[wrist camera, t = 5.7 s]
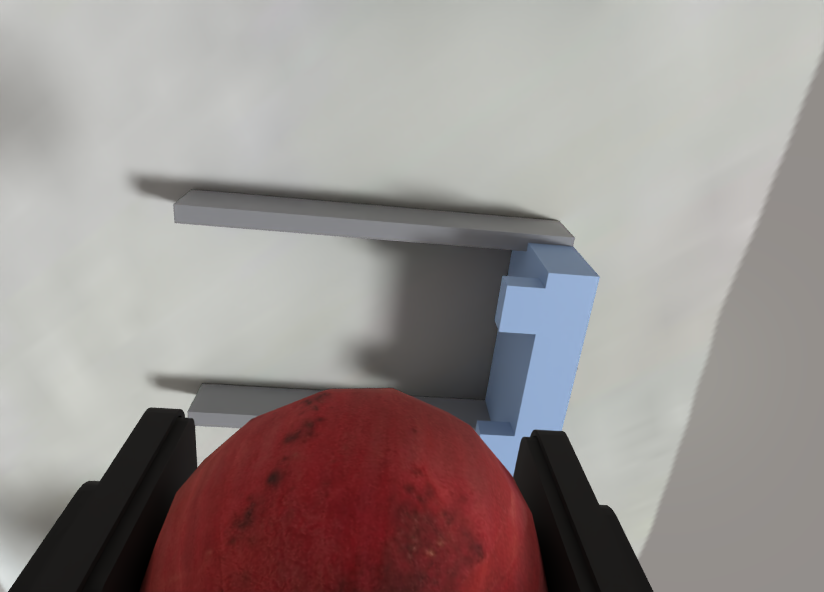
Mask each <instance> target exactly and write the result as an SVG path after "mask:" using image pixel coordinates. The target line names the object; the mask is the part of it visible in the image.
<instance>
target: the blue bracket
mask: <svg viewBox="0 0 824 592" xmlns="http://www.w3.org/2000/svg"><path fill="white" fill-rule="evenodd" d="M599 278H600V277H599V276H598V274H597V273H596V272H595V271H594V270H593V269H592V268H591V266H590V265H589V264H588V263H587V262H586V261H585V260H584V258H583V257H582V256H581V255H580V254H579V253H578V252H577V250H576V249H575V248H574V247H573V246H562V245H550V244H537V243H528V247H527V251H515V250H512V253H511V259H510V264H509V270H508V276H502V281H501V287H500V292H499V298H498V304H497V310H496V315H495V323H496V326H497V328H498V332H497V337H496V343H495V348H494V354H493V360H492V365H491V371H490V376H489V382H488V388H487V393H486V399H485V401H486V405H487V409H488V412H489V416H490V420H491V421H479V420H477V424H476V430H475V432H476V433H477V434H478V435H479V436H480V438H481V439H482V440H483V441H484V442H485V444H486V445H487V446H488V447H489V448H490V450H491V451H492V452H493V453H494V454H495V456H496V457H497V458H498V459H499V460H500V462H501V463H502V464H503V465H504V466H505V468H506V469H507V470H508V471H509V472H510V474H511V475H512V476H513V475H514V470H515V465H516V460H517V456H518V451H519V446H520V442H521V439H522V437H530V435H531V433H532V431H533V430H553V431H562V427H563V423H564V419H565V415H566V411H567V407H568V403H569V399H570V395H571V391H572V387H573V383H574V379H575V375H576V370H577V366H578V362H579V358H580V354H581V350H582V346H583V342H584V338H585V334H586V330H587V326H588V322H589V318H590V314H591V310H592V306H593V302H594V298H595V294H596V290H597V286H598V282H599Z"/></svg>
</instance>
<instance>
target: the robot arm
mask: <svg viewBox="0 0 824 592" xmlns="http://www.w3.org/2000/svg"><path fill="white" fill-rule="evenodd" d="M196 469H197V454H196V436H195V422H194V419H193V418H185V414H184V412H183V410H181V409H168V408H148V409H147V410H146V411H145V413H144V414H143V416H142V417H141V419H140V420H139V422H138V423H137V425H136V427H135V428H134V430H133V431H132V433H131V434H130V436H129V437H128V439H127V440H126V442H125V443H124V445H123V447H122V448H121V450H120V451H119V453H118V454H117V456H116V457H115V459H114V460H113V462H112V463H111V465H110V466H109V468H108V470H107V471H106V473H105V474H104V476H103V477H102V479H101V480H100V481H88V482H86V483H84V484H83V485H82V486H81V487H80V488H79V490H78V491H77V492H76V494H75V495H74V497H73V498H72V499H71V501H70V502H69V504H68V505H67V507H66V508H65V510H64V511H63V513H62V514H61V515H60V517H59V518H58V520H57V521H56V523H55V524H54V526H53V527H52V529H51V530H50V531H49V533H48V534H47V536H46V537H45V539H44V540H43V542H42V543H41V545H40V546H39V548H38V549H37V550H36V552H35V553H34V555H33V556H32V558H31V559H30V561H29V562H28V564H27V565H26V566H25V568H24V569H23V571H22V572H21V574H20V575H19V577H18V578H17V580H16V581H15V582H14V584H13V585H12V587H11V588H10V590H9V591H8V592H139V590H140V587H141V584H142V581H143V578H144V575H145V572H146V570H147V567H148V564H149V561H150V558H151V555H152V552H153V549H154V547H155V544H156V541H157V539H158V536H159V534H160V531H161V529H162V526H163V524H164V521H165V519H166V517H167V514H168V512H169V509H170V507H171V504H172V502H173V499H174V497H175V494H176V492H177V491H178V490H179V489H180V488H181V486H182V485H183V484H184V483H185V482H186V481H187V479H188V478H189V477H190V476H191V475H192V473H193V472H194V471H195V470H196ZM513 478H514V480H515V482H516V484H517V486H518V488H519V490H520V492H521V494H522V496H523V497H524V499H525V501H526V503H527V505H528V507H529V509H530V511H531V513H532V516H533V520H534V525H535V529H536V533H537V538H538V542H539V546H540V551H541V555H542V559H543V563H544V569H545V575H546V580H547V586H548V591H549V592H653V590H652V588H651V586H650V584H649V582H648V580H647V578H646V576H645V573H644V572H643V569H642V567H641V565H640V563H639V561H638V559H637V557H636V555H635V553H634V551H633V549H632V547H631V545H630V543H629V541H628V539H627V537H626V535H625V533H624V531H623V529H622V527H621V524H620V522H619V520H618V518H617V516H616V515H615V513H614V511H613V510H612V509H611V508H610V507H609V506H607V505H599V503H598V501H597V499H596V497H595V495H594V493H593V490H592V488H591V486H590V484H589V482H588V480H587V478H586V475H585V473H584V471H583V469H582V467H581V465H580V462H579V460H578V458H577V456H576V454H575V452H574V450H573V447H572V445H571V443H570V441H569V439H568V437H567V435H566V433H565V432H563V431H553V430H533V431H532V433H531V435H530V437H522V439H521V442H520V446H519V451H518V456H517V460H516V465H515V470H514V475H513Z"/></svg>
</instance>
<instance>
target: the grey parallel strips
mask: <svg viewBox="0 0 824 592" xmlns="http://www.w3.org/2000/svg"><path fill="white" fill-rule="evenodd" d="M173 206H174V221H175V223H181V224H193V225H206V226H218V227H231V228H243V229H255V230H268V231H280V232H293V233H305V234H317V235H330V236H342V237H354V238H367V239H379V240H392V241H404V242H416V243H429V244H441V245H454V246H466V247H478V248H491V249H503V250H515V251H527V247H528V243H537V244H550V245H562V246H573V244H574V240H575V237H574V236H573V235H572V234H571V233H570V232H569V231H568V230H567V229H566V228H565V226H564V225H563V224H562V223H561V222H560V221H555V220H544V219H532V218H520V217H508V216H497V215H485V214H473V213H462V212H450V211H438V210H426V209H415V208H403V207H391V206H379V205H368V204H356V203H344V202H333V201H321V200H309V199H297V198H286V197H274V196H262V195H251V194H239V193H227V192H215V191H204V190H190V191H189V192H188V193H187V194H185V195H184V196H183V197H182V198H181V199H179V200H178V201H177V202H176V203H174V204H173ZM318 392H321V390H304V389H287V388H271V387H254V386H237V385H220V384H204V383H202V385H201V387H200V389H199V391H198V393H197V395H196V396H195V398H194V400H193V402H192V404H191V406H190V408H189V410H188V418H193V419H194V422H195V426H211V427H229V428H242V427H243V426H244V425H245V424H246V423H247V422H248V421H250V420H251V419H252V418H255V417H257V416H260V415H262V414H265V413H267V412H270V411H272V410H275V409H277V408H280V407H283V406H285V405H288V404H290V403H293V402H295V401H298V400H300V399H303V398H305V397H308V396H310V395H313V394H316V393H318ZM412 397H414V398H417V399H419V400H421V401H423V402H426V403H428V404H430V405H433V406H435V407H437V408H439V409H442V410H444V411H446V412H448V413H450V414H452V415H453V416H455V417H457V418H459V419H460V420H462V421H464V422H465V423H467V424H469V425H470V426H471V427H472V428H473V429H474V430H476V424H477V420H479V421H491V420H490V416H489V412H488V409H487V405H486V401H485V400H471V399H454V398H437V397H421V396H412Z"/></svg>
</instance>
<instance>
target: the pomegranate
mask: <svg viewBox="0 0 824 592" xmlns="http://www.w3.org/2000/svg"><path fill="white" fill-rule="evenodd" d="M139 592H549V591H548V586H547V580H546V575H545V569H544V563H543V559H542V555H541V551H540V546H539V542H538V538H537V533H536V529H535V525H534V520H533V516H532V513H531V511H530V509H529V507H528V505H527V503H526V501H525V499H524V497H523V496H522V494H521V492H520V490H519V488H518V486H517V484H516V482H515V480H514V478H513V476H512V475H511V474H510V472H509V471H508V470H507V469H506V468H505V466H504V465H503V464H502V463H501V462H500V460H499V459H498V458H497V457H496V456H495V454H494V453H493V452H492V451H491V450H490V448H489V447H488V446H487V445H486V444H485V442H484V441H483V440H482V439H481V438H480V436H479V435H478V434H477V433H476V432H475V430H474V429H473V428H472V427H471V426H470V425H469V424H467V423H465V422H464V421H462V420H460V419H459V418H457V417H455V416H453V415H452V414H450V413H448V412H446V411H444V410H442V409H439V408H437V407H435V406H433V405H430V404H428V403H426V402H423V401H421V400H419V399H417V398H414V397H412V396H410V395H407V394H405V393H403V392H401V391H398V390H396V389H394V388H355V389H327V390H324V391H321V392H318V393H316V394H313V395H310V396H308V397H305V398H303V399H300V400H298V401H295V402H293V403H290V404H288V405H285V406H283V407H280V408H277V409H275V410H272V411H270V412H267V413H265V414H262V415H260V416H257V417H255V418H252V419H251V420H250V421H248V422H247V423H246V424H245V425H244V426H243V427H242V428H240V429H239V430H238V431H237V432H236V433H235V434H233V435H232V436H231V437H230V438H229V439H228V440H227V441H225V442H224V443H223V444H222V445H221V446H220V447H219V448H217V449H216V450H215V451H214V452H213V453H212V454H210V455H209V456H208V457H207V458H206V459H205V460H204V461H203V462H202V463H201V464H200V465H199V466H198V468H197V469H196V470H195V471H194V472H193V473H192V475H191V476H190V477H189V478H188V479H187V481H186V482H185V483H184V484H183V485H182V486H181V488H180V489H179V490H178V491H177V492H176V494H175V497H174V499H173V502H172V504H171V507H170V509H169V512H168V514H167V517H166V519H165V521H164V524H163V526H162V529H161V531H160V534H159V536H158V539H157V541H156V544H155V547H154V549H153V552H152V555H151V558H150V561H149V564H148V567H147V570H146V572H145V575H144V578H143V581H142V584H141V587H140V590H139Z"/></svg>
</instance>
